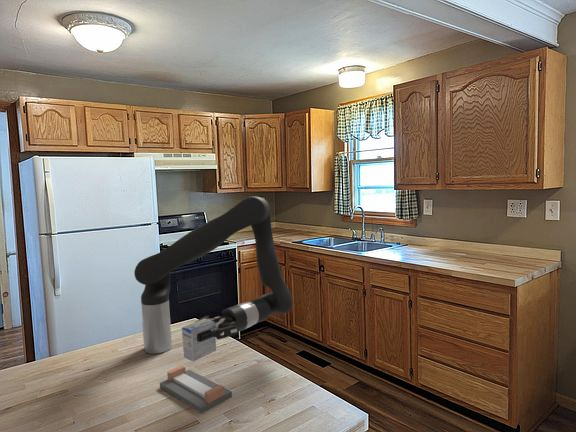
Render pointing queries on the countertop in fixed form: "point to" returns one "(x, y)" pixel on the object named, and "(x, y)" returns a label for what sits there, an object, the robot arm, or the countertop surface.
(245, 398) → the countertop surface
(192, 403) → the rail panel
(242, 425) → the countertop surface
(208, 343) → the medicine box
